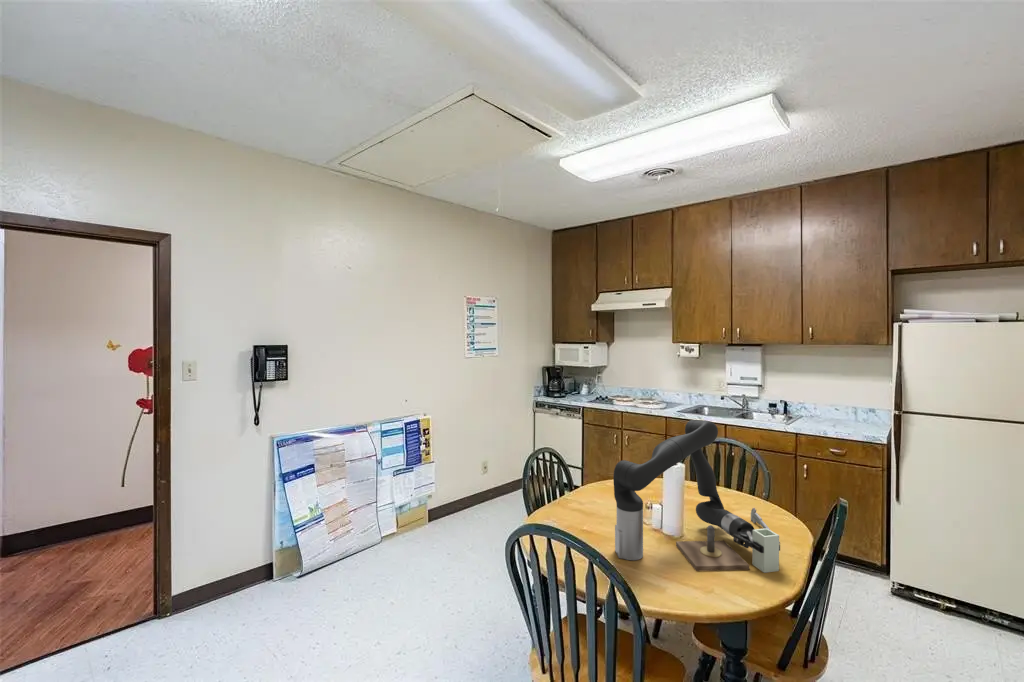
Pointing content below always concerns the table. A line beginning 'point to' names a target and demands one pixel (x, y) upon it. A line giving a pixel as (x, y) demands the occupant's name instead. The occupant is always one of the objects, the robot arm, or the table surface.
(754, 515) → the caliper
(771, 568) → the sleeve
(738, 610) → the table surface
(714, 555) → the post stand
